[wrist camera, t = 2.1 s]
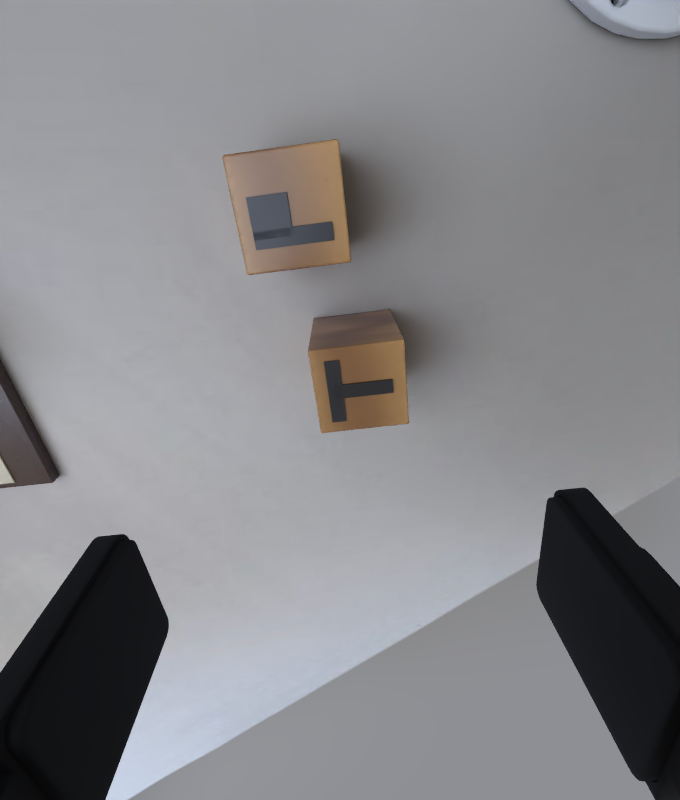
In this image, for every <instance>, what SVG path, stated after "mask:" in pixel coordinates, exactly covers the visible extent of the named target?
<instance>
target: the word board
mask: <svg viewBox="0 0 680 800" xmlns="http://www.w3.org/2000/svg"><path fill="white" fill-rule="evenodd" d="M58 477H59V474H58V472H57V470H56V468H55V466H54V464H53V462H52V460H51V458H50V456H49V454H48V452H47V450H46V449H45V447H44V445H43V443H42V441H41V439H40V437H39V435H38V433H37V431H36V429H35V427H34V425H33V423H32V421H31V419H30V417H29V415H28V413H27V412H26V410H25V408H24V406H23V404H22V402H21V400H20V398H19V396H18V394H17V392H16V390H15V388H14V386H13V384H12V382H11V380H10V378H9V377H8V375H7V373H6V371H5V369H4V367H3V365H2V363H1V361H0V488H7V487H16V486H26V485H35V484H44V483H53V482H54V481H55V480H56V479H57V478H58Z"/></svg>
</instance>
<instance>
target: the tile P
mask: <svg viewBox="0 0 680 800" xmlns="http://www.w3.org/2000/svg"><path fill="white" fill-rule="evenodd" d="M223 162H224V167H225V172H226V177H227V181H228V186H229V191H230V195H231V200H232V205H233V209H234V214H235V219H236V223H237V228H238V233H239V237H240V242H241V247H242V252H243V256H244V261H245V266H246V270H247V274H248V275H254V274H262V273H269V272H277V271H285V270H293V269H301V268H309V267H316V266H324V265H332V264H340V263H348V262H351V252H350V243H349V233H348V224H347V214H346V204H345V195H344V185H343V176H342V166H341V156H340V147H339V141H338V140H337V139H334V140H327V141H320V142H313V143H306V144H299V145H292V146H285V147H277V148H270V149H263V150H256V151H249V152H242V153H235V154H228V155H224V156H223Z"/></svg>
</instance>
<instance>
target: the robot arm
mask: <svg viewBox="0 0 680 800" xmlns="http://www.w3.org/2000/svg"><path fill="white" fill-rule="evenodd" d="M570 1H571V2H572V3H573V4H574V5H575V6H576V7H577V8H578V9H579V10H580V11H581V12H582V13H583V14H584V15H585V16H586V17H587V18H589V19H590V20H591V21H592V22H594V23H596V24H598V25H600V26H601V27H603V28H605V29H607V30H609V31H611V32H613V33H615V34H619V35H624V36H628V37H632V38H637V39H663V38H670V37H674V36H678V35H680V0H614V3H613V4H612V3H611V0H570ZM537 591H538V594H539V598H540V600H541V602H542V604H543V606H544V608H545V609H546V611H547V613H548V615H549V617H550V619H551V621H552V623H553V625H554V627H555V629H556V630H557V632H558V634H559V636H560V638H561V640H562V642H563V644H564V646H565V647H566V649H567V651H568V653H569V655H570V657H571V659H572V661H573V663H574V665H575V666H576V668H577V670H578V672H579V674H580V676H581V678H582V680H583V682H584V683H585V685H586V687H587V689H588V691H589V693H590V695H591V697H592V699H593V701H594V702H595V704H596V706H597V708H598V710H599V712H600V714H601V716H602V718H603V720H604V722H605V724H606V725H607V727H608V729H609V731H610V733H611V735H612V737H613V739H614V741H615V743H616V744H617V746H618V748H619V750H620V752H621V754H622V756H623V758H624V760H625V761H626V763H627V765H628V767H629V769H630V771H631V772H632V774H633V775H634V776H635V777H636V778H637V779H638V780H639V781H645V782H646V783H647V785H648V787H649V789H650V791H651V793H652V795H653V796H654V798H655V800H680V587H679V585H678V584H677V583H676V582H675V581H674V580H673V579H672V578H671V577H670V575H669V574H668V573H667V572H666V571H665V570H664V569H663V568H662V567H661V566H660V565H659V563H658V562H657V561H656V560H655V559H654V558H653V557H652V556H651V555H650V554H649V553H648V552H647V551H646V550H645V549H643V548H641V547H639V546H638V545H637V544H636V543H635V541H634V540H633V539H632V538H631V537H630V536H629V535H628V533H627V532H626V531H625V530H624V529H623V528H622V527H621V526H620V524H619V523H618V522H617V521H616V520H615V519H614V518H613V517H612V516H611V514H610V513H609V512H608V511H607V510H606V509H605V508H604V507H603V505H602V504H601V503H600V502H599V501H598V500H597V499H596V498H595V496H594V495H593V494H592V493H591V492H590V491H589V490H588V489H586V488H575V489H565V490H558V491H556V492H555V494H554V497H553V498H549V499H548V500H547V505H546V513H545V521H544V528H543V536H542V544H541V552H540V559H539V567H538V576H537ZM168 626H169V623H168V617H167V615H166V612H165V610H164V608H163V605H162V603H161V601H160V598H159V596H158V594H157V591H156V589H155V587H154V584H153V582H152V580H151V577H150V575H149V573H148V570H147V568H146V565H145V563H144V561H143V558H142V556H141V554H140V551H139V549H138V547H137V544H136V543H135V541H133V540H129V538H128V537H127V536H126V535H124V534H120V535H110V536H100V537H97V538H95V539H94V540H93V541H92V542H91V544H90V545H89V546H88V548H87V549H86V551H85V552H84V554H83V555H82V557H81V558H80V559H79V561H78V562H77V564H76V565H75V567H74V568H73V569H72V571H71V572H70V574H69V575H68V577H67V578H66V579H65V581H64V582H63V584H62V585H61V587H60V588H59V589H58V591H57V592H56V594H55V595H54V597H53V598H52V599H51V601H50V602H49V604H48V605H47V607H46V608H45V609H44V611H43V612H42V614H41V615H40V617H39V618H38V619H37V621H36V622H35V624H34V625H33V627H32V628H31V630H30V631H29V632H28V634H27V635H26V637H25V638H24V640H23V641H22V642H21V644H20V645H19V647H18V648H17V650H16V651H15V652H14V654H13V655H12V657H11V658H10V660H9V661H8V662H7V664H6V665H5V667H4V668H3V670H2V671H1V672H0V800H105V799H106V796H107V794H108V791H109V788H110V786H111V783H112V780H113V778H114V775H115V772H116V770H117V767H118V764H119V762H120V759H121V756H122V754H123V751H124V748H125V746H126V743H127V740H128V738H129V735H130V732H131V730H132V727H133V724H134V722H135V719H136V716H137V714H138V711H139V708H140V706H141V703H142V701H143V698H144V695H145V693H146V690H147V687H148V685H149V682H150V679H151V677H152V674H153V671H154V669H155V666H156V663H157V661H158V658H159V655H160V653H161V650H162V647H163V645H164V642H165V639H166V637H167V633H168Z"/></svg>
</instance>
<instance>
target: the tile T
mask: <svg viewBox="0 0 680 800" xmlns="http://www.w3.org/2000/svg"><path fill="white" fill-rule="evenodd" d="M308 355H309V361H310V367H311V374H312V380H313V386H314V392H315V398H316V404H317V410H318V416H319V422H320V429H321V433H327V432H336V431H345V430H354V429H363V428H372V427H381V426H390V425H400V424H408V423H409V417H408V399H407V381H406V363H405V345H404V339H403V337H402V334H401V332H400V330H399V328H398V326H397V324H396V322H395V319H394V317H393V315H392V313H391V311H390V309H388V310H380V311H372V312H364V313H355V314H347V315H339V316H331V317H323V318H314V319H313V325H312V331H311V337H310V342H309V348H308Z"/></svg>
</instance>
